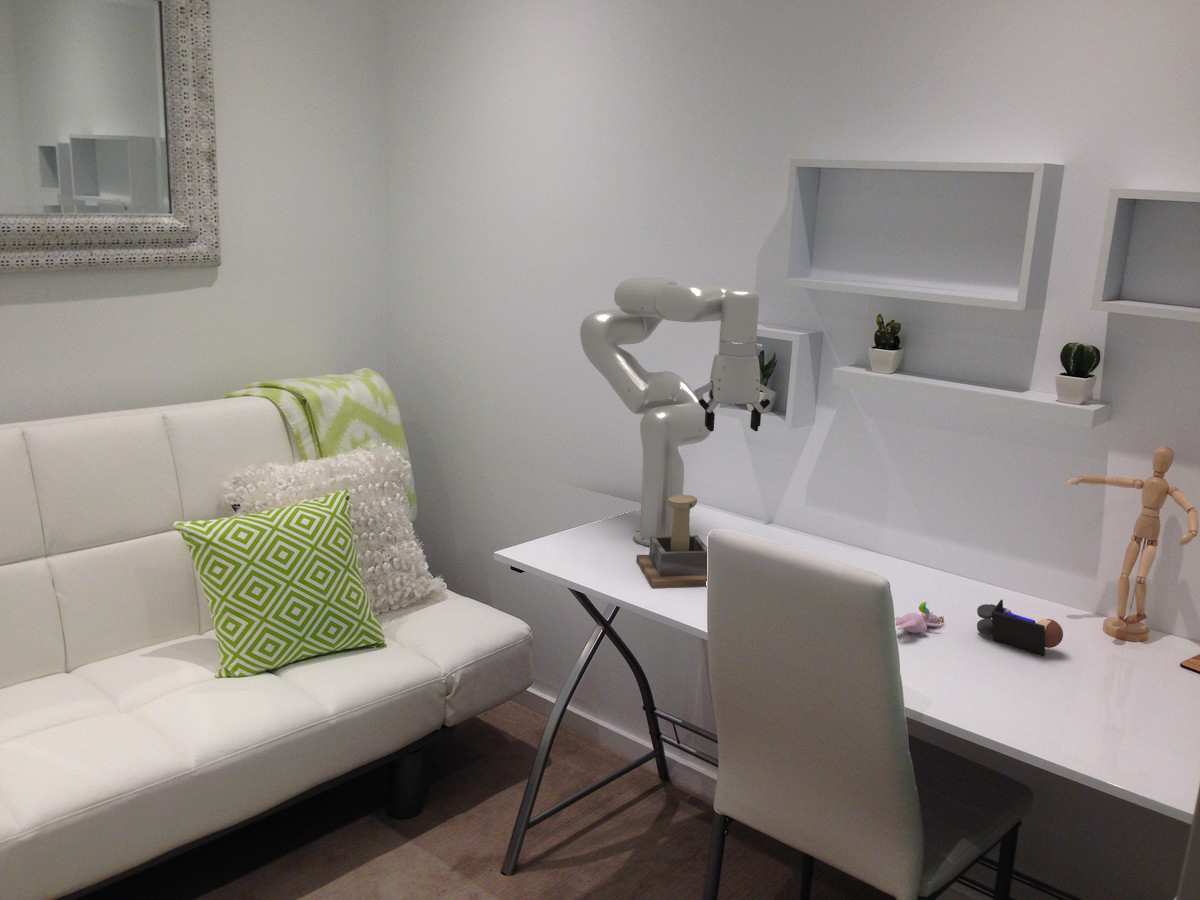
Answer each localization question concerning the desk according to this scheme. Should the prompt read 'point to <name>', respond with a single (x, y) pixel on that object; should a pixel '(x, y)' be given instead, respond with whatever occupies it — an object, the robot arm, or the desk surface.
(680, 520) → the handle
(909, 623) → the pink unicorn toy
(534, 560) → the desk surface
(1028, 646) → the character figurine
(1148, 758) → the desk surface
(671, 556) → the stand
